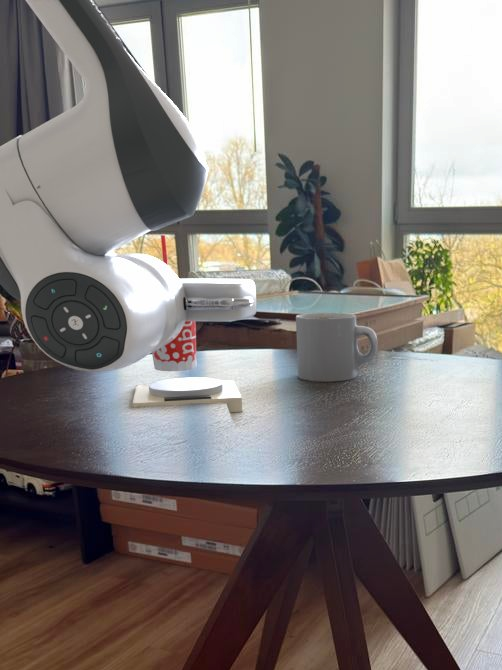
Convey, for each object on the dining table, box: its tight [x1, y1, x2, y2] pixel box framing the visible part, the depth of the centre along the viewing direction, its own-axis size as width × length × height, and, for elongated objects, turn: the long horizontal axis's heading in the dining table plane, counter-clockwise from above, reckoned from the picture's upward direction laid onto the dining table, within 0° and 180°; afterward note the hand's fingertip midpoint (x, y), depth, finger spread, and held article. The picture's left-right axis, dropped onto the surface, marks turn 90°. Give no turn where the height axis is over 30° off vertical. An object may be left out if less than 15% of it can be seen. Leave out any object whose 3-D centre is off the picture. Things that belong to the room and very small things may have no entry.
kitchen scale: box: [132, 376, 244, 413], centre depth 101 cm, size 14×13×3 cm
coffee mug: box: [295, 312, 379, 383], centre depth 121 cm, size 13×10×10 cm
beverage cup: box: [151, 234, 198, 372], centre depth 79 cm, size 6×6×14 cm
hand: (170, 293), depth 80 cm, fingers closed on beverage cup, 6 cm apart
